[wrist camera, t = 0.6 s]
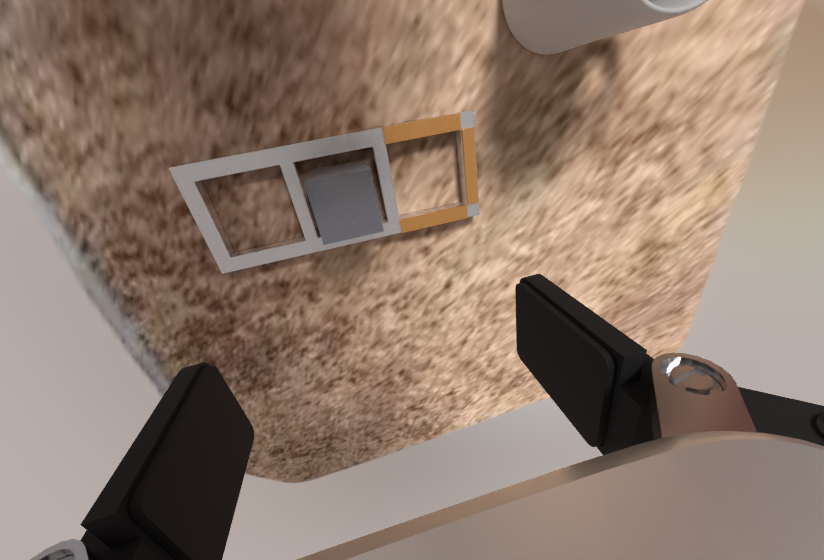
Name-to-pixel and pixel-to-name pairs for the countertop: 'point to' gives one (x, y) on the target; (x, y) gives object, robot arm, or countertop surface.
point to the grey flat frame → (287, 157)
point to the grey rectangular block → (344, 201)
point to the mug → (583, 20)
